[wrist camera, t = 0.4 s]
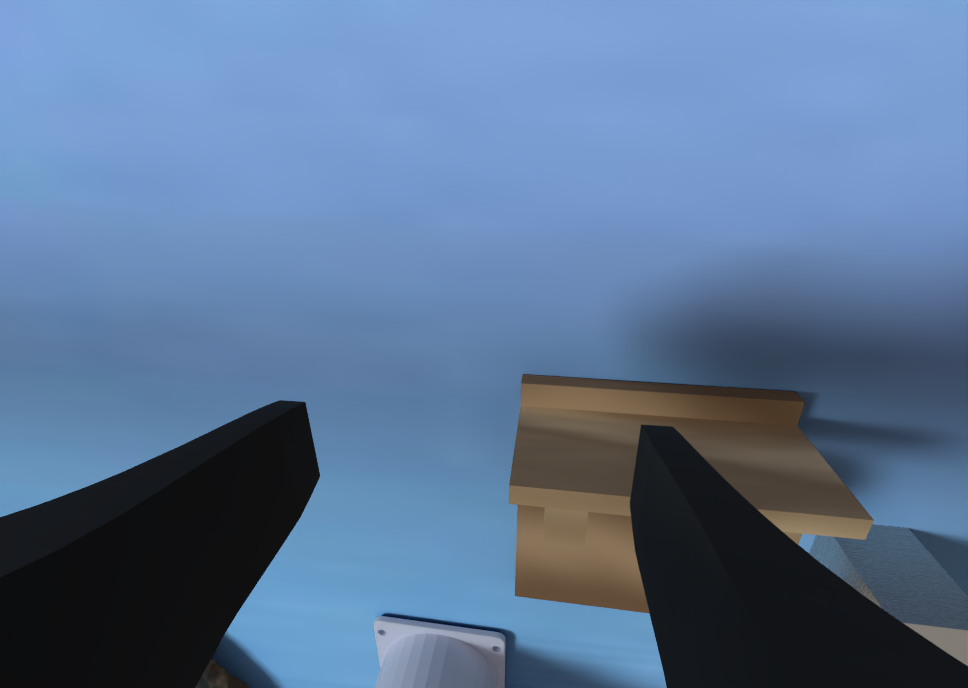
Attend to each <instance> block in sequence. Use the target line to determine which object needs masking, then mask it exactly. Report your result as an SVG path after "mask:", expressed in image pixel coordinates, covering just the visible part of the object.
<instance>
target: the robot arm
mask: <svg viewBox="0 0 968 688" xmlns="http://www.w3.org/2000/svg"><path fill="white" fill-rule="evenodd" d="M319 477H320V473H319V468H318V463H317V458H316V453H315V448H314V443H313V438H312V433H311V428H310V423H309V418H308V413H307V408H306V403H305V402H296V401H281V400H280V401H277V402H274V403H272V404H269V405H266V406H264V407H262V408H259V409H257V410H255V411H253V412H251V413H248V414H246V415H244V416H242V417H240V418H238V419H236V420H234V421H231V422H229V423H227V424H225V425H223V426H221V427H219V428H217V429H215V430H213V431H211V432H209V433H207V434H204V435H202V436H200V437H198V438H196V439H194V440H192V441H190V442H188V443H186V444H184V445H182V446H180V447H177V448H175V449H173V450H171V451H168V452H166V453H164V454H162V455H160V456H157V457H155V458H153V459H151V460H148V461H146V462H144V463H142V464H140V465H137V466H135V467H133V468H131V469H128V470H126V471H124V472H122V473H119V474H117V475H115V476H112V477H110V478H107V479H105V480H102V481H100V482H98V483H95V484H93V485H90V486H88V487H85V488H82V489H80V490H77V491H74V492H72V493H69V494H66V495H64V496H61V497H59V498H56V499H53V500H51V501H48V502H45V503H42V504H39V505H37V506H34V507H31V508H28V509H24V510H21V511H18V512H15V513H12V514H9V515H6V516H3V517H0V688H195V687H196V685H197V684H198V682H199V680H200V678H201V676H202V674H203V672H204V671H205V669H206V667H207V665H208V663H209V661H210V660H211V658H212V656H213V654H214V652H215V650H216V648H217V647H218V645H219V643H220V641H221V639H222V637H223V636H224V634H225V632H226V631H227V629H228V627H229V626H230V624H231V622H232V621H233V619H234V618H235V616H236V614H237V613H238V611H239V610H240V608H241V607H242V605H243V604H244V602H245V601H246V599H247V598H248V596H249V595H250V593H251V592H252V590H253V589H254V587H255V585H256V584H257V582H258V581H259V579H260V578H261V576H262V575H263V573H264V572H265V570H266V569H267V567H268V566H269V564H270V563H271V561H272V560H273V558H274V557H275V555H276V554H277V552H278V551H279V549H280V548H281V546H282V545H283V543H284V542H285V540H286V539H287V537H288V536H289V534H290V532H291V531H292V529H293V528H294V526H295V525H296V523H297V522H298V520H299V518H300V517H301V515H302V513H303V511H304V509H305V507H306V505H307V503H308V501H309V499H310V497H311V495H312V493H313V490H314V488H315V486H316V484H317V482H318V479H319ZM630 512H631V521H632V530H633V539H634V547H635V553H636V557H637V562H638V566H639V570H640V575H641V579H642V583H643V587H644V592H645V596H646V600H647V604H648V608H649V612H650V617H651V621H652V625H653V629H654V633H655V637H656V641H657V646H658V650H659V654H660V658H661V662H662V666H663V671H664V676H665V681H666V686H667V688H968V666H967V665H965V664H964V663H962V662H961V661H959V660H957V659H956V658H954V657H953V656H951V655H950V654H948V653H947V652H945V651H944V650H942V649H941V648H939V647H938V646H936V645H935V644H933V643H932V642H930V641H929V640H927V639H926V638H924V637H923V636H922V635H920V634H919V633H917V632H916V631H914V630H913V629H911V628H910V627H908V626H907V625H905V624H904V623H902V622H901V621H899V620H898V619H896V618H895V617H893V616H892V615H890V614H889V613H888V612H886V611H885V610H883V609H882V608H881V607H879V606H878V605H876V604H875V603H874V602H872V601H871V600H869V599H868V598H866V597H865V596H864V595H862V594H861V593H860V592H858V591H857V590H856V589H854V588H853V587H852V586H850V585H849V584H848V583H846V582H845V581H844V580H842V579H841V578H840V577H839V576H837V575H836V574H835V573H833V572H832V571H831V570H829V569H828V568H827V567H825V566H824V565H823V564H821V563H820V562H819V561H817V560H816V559H815V558H814V557H812V556H811V555H810V554H809V553H807V552H806V551H805V550H804V549H802V548H801V547H800V546H799V545H798V544H796V543H795V542H794V541H793V540H792V539H790V538H789V537H788V536H787V535H786V534H785V533H784V532H782V531H781V530H780V529H779V528H778V527H777V526H775V525H774V524H773V523H772V522H771V521H770V520H768V519H767V518H766V517H765V516H764V515H763V514H762V513H760V512H759V511H758V510H757V509H756V508H755V507H754V506H753V505H752V504H751V503H750V502H748V501H747V500H746V499H745V498H744V497H743V496H742V495H741V494H740V493H739V492H738V491H737V490H736V489H735V488H734V487H733V486H732V485H730V484H729V483H728V482H727V481H726V480H725V479H724V478H723V477H722V476H721V475H720V474H719V473H718V472H717V471H716V470H715V469H714V468H713V467H712V466H711V465H710V464H709V463H708V462H707V461H706V460H705V459H704V458H703V457H702V456H701V455H700V454H699V453H698V452H697V450H696V449H695V448H694V447H693V446H692V445H691V444H690V443H689V442H688V441H687V440H686V439H685V438H684V437H683V436H682V435H681V434H680V433H679V432H678V431H677V430H676V429H675V428H674V427H672V426H657V425H642V424H641V428H640V435H639V442H638V449H637V456H636V463H635V470H634V477H633V484H632V491H631V497H630ZM374 631H375V637H376V643H377V650H378V656H379V662H380V669H381V670H380V673H379V676H378V679H377V682H376V685H375V688H505V652H506V638H505V636H504V635H503V634H501V633H499V632H494V631H486V630H479V629H472V628H465V627H458V626H451V625H443V624H436V623H429V622H422V621H415V620H408V619H400V618H393V617H386V616H379V617H377V618H376V619H375V622H374Z"/></svg>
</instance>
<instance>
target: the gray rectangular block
mask: <svg viewBox="0 0 968 688" xmlns="http://www.w3.org/2000/svg"><path fill="white" fill-rule="evenodd" d="M809 554H810V555H811V556H812V557H814V558H815V559H816V560H817V561H819V562H820V563H821V564H823V565H824V566H825V567H827V568H828V569H829V570H831V571H832V572H833V573H835V574H836V575H837V576H839V577H840V578H841V579H842V580H844V581H845V582H846V583H848V584H849V585H850V586H852V587H853V588H854V589H856V590H857V591H858V592H860V593H861V594H862V595H864V596H865V597H866V598H868V599H869V600H871V601H872V602H874V603H875V604H876V605H878V606H879V607H881V608H882V609H883V610H885V611H886V612H888V613H889V614H890V615H892V616H893V617H895V618H896V619H898V620H899V621H901V622H902V623H904V624H905V625H907V626H908V627H910V628H911V629H913V630H914V631H916V632H917V633H919V634H920V635H922V636H923V637H924V638H926V639H927V640H929V641H930V642H932V643H933V644H935V645H936V646H938V647H939V648H941V649H942V650H944V651H945V652H947V653H948V654H950V655H951V656H953V657H954V658H956V659H957V660H959V661H961V662H962V663H964V664H965V665H967V666H968V596H967V594H966V593H965V592H964V591H963V590H962V589H961V588H960V586H959V585H958V584H957V583H956V582H955V581H954V580H953V579H952V577H951V576H950V575H949V574H948V573H947V572H946V571H945V569H944V568H943V567H942V566H941V565H940V564H939V563H938V561H937V560H936V559H935V558H934V557H933V556H932V555H931V554H930V552H929V551H928V550H927V549H926V548H925V547H924V546H923V544H922V543H921V542H920V541H919V540H918V539H917V538H916V537H915V535H914V534H913V533H912V532H911V531H910V530H909V529H908V528H904V527H894V526H883V525H873V524H872V526H871V528H870V530H869V532H868V535H867V537H866V539H865V540H861V539H851V538H841V537H831V536H822V535H816V536H815V539H814V541H813V544H812V547H811V549H810V552H809Z"/></svg>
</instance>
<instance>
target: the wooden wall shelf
mask: <svg viewBox="0 0 968 688" xmlns="http://www.w3.org/2000/svg"><path fill="white" fill-rule="evenodd" d="M804 404H805V401H804V400H803V399H802V398H801V397H800V396H799V395H798V394H797V393H796V392H792V391H777V390H761V389H745V388H729V387H713V386H697V385H682V384H666V383H650V382H634V381H618V380H602V379H587V378H571V377H555V376H539V375H523V376H522V383H521V407H520V414H519V421H518V428H517V435H516V442H515V449H514V456H513V463H512V470H511V477H510V484H509V504H516V505H518V513H517V546H516V579H515V596H519V597H527V598H535V599H543V600H550V601H558V602H566V603H574V604H581V605H589V606H597V607H605V608H613V609H620V610H628V611H636V612H644V613H650V612H649V608H648V604H647V600H646V596H645V592H644V587H643V583H642V579H641V575H640V570H639V566H638V562H637V557H636V553H635V547H634V539H633V530H632V521H631V512H630V497H631V491H632V484H633V477H634V470H635V463H636V456H637V449H638V442H639V435H640V428H641V424H642V425H657V426H672V427H674V428H675V429H676V430H677V431H678V432H679V433H680V434H681V435H682V436H683V437H684V438H685V439H686V440H687V441H688V442H689V443H690V444H691V445H692V446H693V447H694V448H695V449H696V450H697V452H698V453H699V454H700V455H701V456H702V457H703V458H704V459H705V460H706V461H707V462H708V463H709V464H710V465H711V466H712V467H713V468H714V469H715V470H716V471H717V472H718V473H719V474H720V475H721V476H722V477H723V478H724V479H725V480H726V481H727V482H728V483H729V484H730V485H732V486H733V487H734V488H735V489H736V490H737V491H738V492H739V493H740V494H741V495H742V496H743V497H744V498H745V499H746V500H747V501H748V502H750V503H751V504H752V505H753V506H754V507H755V508H756V509H757V510H758V511H759V512H760V513H762V514H763V515H764V516H765V517H766V518H767V519H768V520H770V521H771V522H772V523H773V524H774V525H775V526H777V527H778V528H779V529H780V530H781V531H782V532H784V533H785V534H786V535H787V536H788V537H789V538H790V539H792V540H793V541H794V542H795V543H796V544H798V543H799V541H800V538H801V535H802V534H812V535H822V536H831V537H841V538H851V539H861V540H865V539H866V537H867V535H868V532H869V530H870V528H871V526H872V524H873V521H874V520H873V518H872V517H871V516H870V515H869V514H868V512H867V511H866V510H865V509H864V507H863V506H862V505H861V504H860V502H859V501H858V500H857V499H856V498H855V496H854V495H853V494H852V493H851V491H850V490H849V489H848V488H847V486H846V485H845V484H844V483H843V481H842V480H841V479H840V478H839V477H838V475H837V474H836V473H835V472H834V470H833V469H832V468H831V467H830V465H829V464H828V463H827V462H826V460H825V459H824V458H823V457H822V456H821V454H820V453H819V452H818V451H817V449H816V448H815V447H814V446H813V444H812V443H811V442H810V441H809V440H808V438H807V437H806V436H805V435H804V433H803V432H802V431H801V430H800V428H799V427H798V423H799V419H800V416H801V413H802V410H803V407H804Z"/></svg>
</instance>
